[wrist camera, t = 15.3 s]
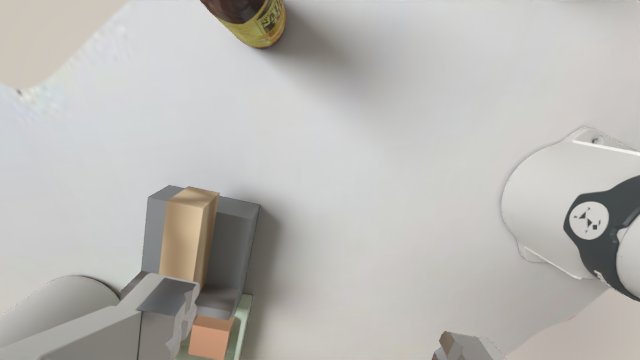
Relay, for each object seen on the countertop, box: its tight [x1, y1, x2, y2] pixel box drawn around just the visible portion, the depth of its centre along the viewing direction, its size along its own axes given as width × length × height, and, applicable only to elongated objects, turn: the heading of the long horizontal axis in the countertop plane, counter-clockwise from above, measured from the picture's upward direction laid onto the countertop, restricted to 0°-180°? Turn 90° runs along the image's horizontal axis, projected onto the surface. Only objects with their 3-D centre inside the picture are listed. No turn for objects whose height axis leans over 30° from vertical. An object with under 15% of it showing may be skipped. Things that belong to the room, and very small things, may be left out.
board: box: [141, 185, 260, 318], centre depth 38 cm, size 12×14×5 cm
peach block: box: [188, 315, 235, 360], centre depth 42 cm, size 5×5×3 cm
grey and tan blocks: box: [120, 186, 239, 320], centre depth 33 cm, size 12×13×5 cm
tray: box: [174, 294, 253, 360], centre depth 42 cm, size 15×11×3 cm
